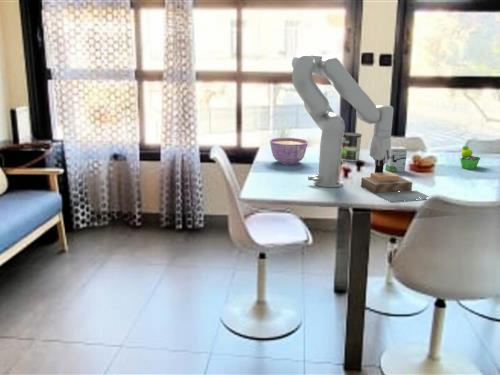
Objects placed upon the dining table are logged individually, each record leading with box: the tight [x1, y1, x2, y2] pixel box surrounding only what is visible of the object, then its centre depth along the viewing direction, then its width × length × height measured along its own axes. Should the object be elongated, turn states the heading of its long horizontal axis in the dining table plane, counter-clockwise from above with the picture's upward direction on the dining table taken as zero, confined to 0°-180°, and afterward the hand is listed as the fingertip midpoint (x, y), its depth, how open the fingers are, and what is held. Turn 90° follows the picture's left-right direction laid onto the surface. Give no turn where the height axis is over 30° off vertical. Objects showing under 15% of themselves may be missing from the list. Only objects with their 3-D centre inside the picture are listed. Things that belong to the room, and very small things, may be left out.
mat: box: [375, 190, 430, 203], centre depth 217 cm, size 20×12×1 cm, turn 106°
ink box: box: [384, 146, 408, 172], centre depth 261 cm, size 9×5×12 cm, turn 101°
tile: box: [369, 171, 400, 181], centre depth 229 cm, size 10×7×2 cm
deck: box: [360, 176, 413, 195], centre depth 228 cm, size 18×12×4 cm, turn 106°
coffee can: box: [341, 132, 362, 162], centre depth 283 cm, size 10×10×14 cm
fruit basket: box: [460, 145, 481, 170], centre depth 272 cm, size 11×9×11 cm
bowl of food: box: [269, 137, 309, 165], centre depth 272 cm, size 20×20×12 cm
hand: (378, 173), depth 234 cm, fingers closed
